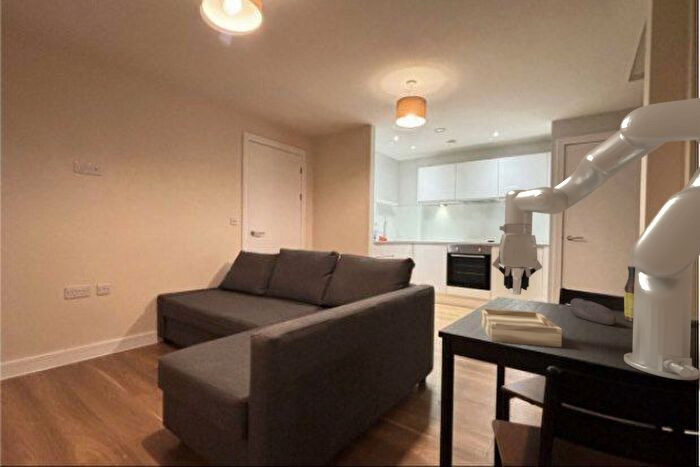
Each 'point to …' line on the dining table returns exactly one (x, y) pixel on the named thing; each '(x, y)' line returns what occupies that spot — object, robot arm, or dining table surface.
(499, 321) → the wooden tray
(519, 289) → the milkshake
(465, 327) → the dining table surface
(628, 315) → the sauce bottle
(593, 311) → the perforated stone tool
